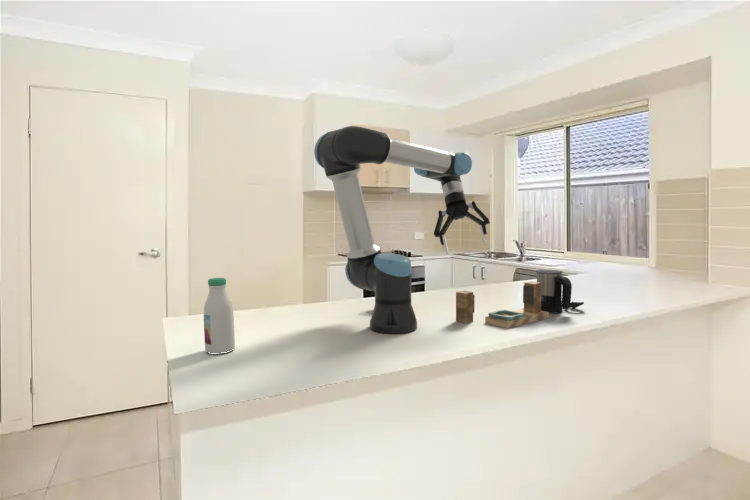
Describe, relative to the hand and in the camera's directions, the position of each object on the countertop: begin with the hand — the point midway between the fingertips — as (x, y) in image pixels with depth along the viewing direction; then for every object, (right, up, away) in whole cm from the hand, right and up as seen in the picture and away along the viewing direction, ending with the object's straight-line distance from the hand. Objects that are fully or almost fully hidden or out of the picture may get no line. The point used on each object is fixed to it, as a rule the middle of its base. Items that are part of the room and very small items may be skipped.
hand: (465, 247), depth 162 cm
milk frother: (+36, -23, +5) cm, 43 cm away
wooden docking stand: (+16, -24, -8) cm, 30 cm away
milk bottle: (-75, -29, -38) cm, 88 cm away
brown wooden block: (-2, -25, -9) cm, 26 cm away
